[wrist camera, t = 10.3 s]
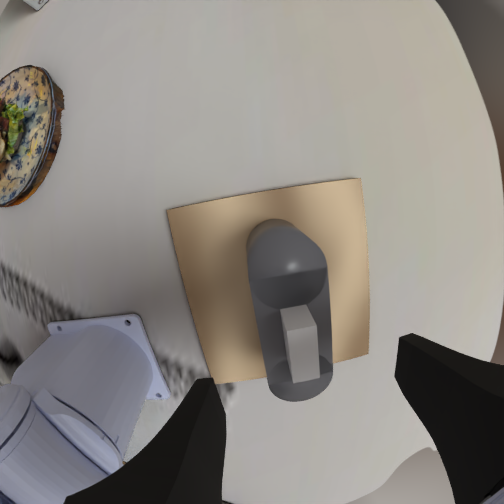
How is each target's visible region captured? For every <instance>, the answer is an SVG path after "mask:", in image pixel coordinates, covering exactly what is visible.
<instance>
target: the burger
mask: <svg viewBox="0 0 504 504" xmlns="http://www.w3.org/2000/svg"><path fill="white" fill-rule="evenodd" d="M63 97H64V95H63V91H62V90H61V89H60V88H59V87H58V86H57V85H56V84H55V83H54V82H53V81H52V79H51V77H50V76H49V73H48V72H47V71H46V70H45V69H44V68H41V67H35V66H32V65H27V66H22V67H19V68H17V69H15V70H13V71H11V72H10V73H9V74H7V75H6V76H5V77H3V78H2V79H1V80H0V207H9V206H14V205H18V204H20V203H22V202H24V201H25V200H27V199H28V198H29V197H30V196H31V195H32V194H33V193H34V192H35V191H36V190H37V188H38V187H39V186H40V185H41V183H42V182H43V180H44V178H45V177H46V175H47V173H48V172H49V170H50V167H51V165H52V163H53V160H54V158H55V156H56V153H57V150H58V147H59V143H60V140H61V137H60V136H61V135H62V134H60V133H61V132H60V131H61V129H62V128H61V127H62V126H61V125H60V123H61V122H60V119H61V116H62V115H61V111H62V110H63V109H64V103H63V102H64V99H63Z"/></svg>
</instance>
